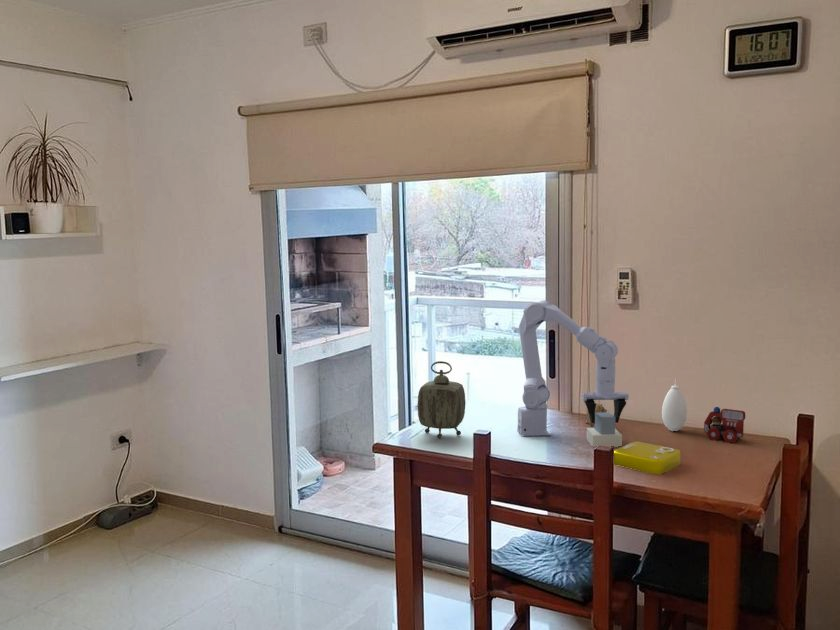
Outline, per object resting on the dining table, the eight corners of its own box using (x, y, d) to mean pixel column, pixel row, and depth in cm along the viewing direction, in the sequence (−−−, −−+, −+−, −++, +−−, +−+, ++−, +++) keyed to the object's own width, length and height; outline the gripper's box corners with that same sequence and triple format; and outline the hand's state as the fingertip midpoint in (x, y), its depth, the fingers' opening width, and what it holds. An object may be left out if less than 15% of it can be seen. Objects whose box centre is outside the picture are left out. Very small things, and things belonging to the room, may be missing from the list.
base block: (592, 447, 228) (592, 435, 227) (586, 439, 236) (586, 427, 236) (621, 447, 227) (621, 435, 227) (614, 439, 236) (614, 427, 236)
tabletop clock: (465, 434, 241) (465, 360, 239) (459, 442, 233) (460, 365, 230) (423, 431, 245) (423, 358, 242) (415, 438, 237) (415, 362, 234)
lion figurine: (608, 430, 246) (608, 404, 245) (592, 431, 246) (593, 404, 245) (593, 419, 261) (593, 395, 260) (578, 420, 260) (579, 395, 259)
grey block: (600, 434, 228) (601, 417, 227) (594, 429, 234) (595, 412, 233) (614, 434, 228) (615, 417, 228) (608, 429, 234) (608, 412, 234)
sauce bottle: (689, 430, 246) (691, 377, 244) (680, 435, 240) (683, 381, 238) (666, 426, 251) (668, 375, 249) (657, 431, 245) (659, 378, 243)
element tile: (634, 454, 221) (634, 438, 221) (682, 464, 211) (683, 448, 210) (610, 465, 210) (610, 449, 210) (659, 477, 200) (660, 460, 199)
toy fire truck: (708, 433, 242) (709, 403, 241) (747, 440, 234) (748, 408, 233) (700, 438, 237) (702, 406, 236) (740, 445, 229) (742, 412, 228)
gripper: (586, 382, 225) (585, 425, 227) (632, 382, 226) (631, 425, 228) (580, 378, 232) (579, 420, 234) (624, 377, 233) (623, 419, 235)
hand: (604, 422), depth 231 cm, fingers open, 7 cm apart
